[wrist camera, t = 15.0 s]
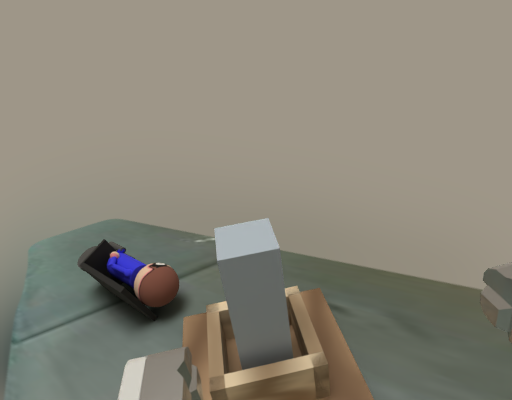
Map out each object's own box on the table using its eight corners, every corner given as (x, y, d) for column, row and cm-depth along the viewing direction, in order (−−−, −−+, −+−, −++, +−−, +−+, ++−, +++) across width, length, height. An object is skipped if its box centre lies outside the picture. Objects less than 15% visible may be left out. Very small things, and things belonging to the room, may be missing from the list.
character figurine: (127, 267, 52) (192, 307, 43) (79, 294, 47) (141, 345, 38) (114, 221, 49) (182, 253, 39) (61, 244, 44) (124, 287, 34)
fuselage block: (284, 337, 35) (268, 217, 29) (295, 376, 31) (279, 248, 25) (240, 346, 35) (214, 228, 28) (246, 388, 31) (217, 260, 24)
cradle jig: (320, 294, 41) (317, 260, 39) (386, 433, 27) (389, 393, 24) (185, 323, 40) (175, 290, 37) (180, 486, 25) (162, 448, 23)
